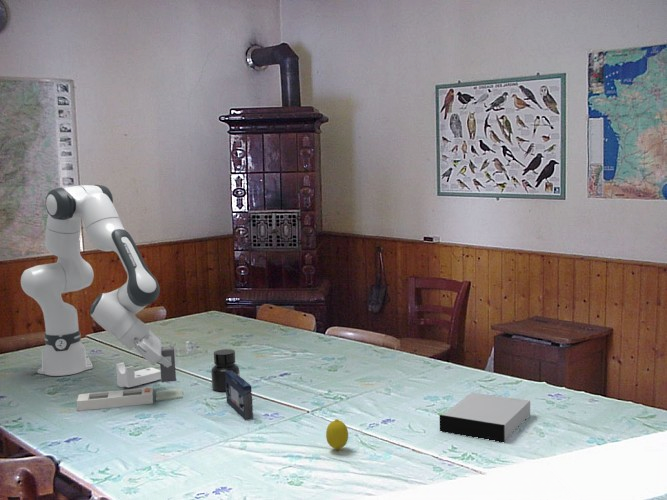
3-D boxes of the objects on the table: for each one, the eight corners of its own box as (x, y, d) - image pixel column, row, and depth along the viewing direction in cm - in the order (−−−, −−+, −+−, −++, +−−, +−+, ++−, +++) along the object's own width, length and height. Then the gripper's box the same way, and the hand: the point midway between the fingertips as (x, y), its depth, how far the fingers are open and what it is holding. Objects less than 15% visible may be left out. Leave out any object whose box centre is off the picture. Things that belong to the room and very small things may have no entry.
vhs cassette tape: (226, 402, 232) (224, 370, 231) (235, 401, 233) (234, 369, 232) (243, 421, 216) (241, 387, 214) (253, 419, 217) (252, 385, 215)
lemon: (325, 446, 195) (324, 416, 194) (347, 445, 195) (346, 415, 194) (327, 455, 189) (326, 424, 188) (349, 453, 190) (348, 422, 189)
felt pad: (156, 392, 244) (156, 391, 244) (181, 390, 245) (181, 388, 245) (156, 400, 236) (156, 398, 236) (182, 398, 238) (182, 396, 237)
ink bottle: (246, 387, 246) (244, 351, 245) (225, 394, 240) (223, 357, 238) (227, 382, 253) (225, 346, 251) (205, 388, 246) (203, 352, 245)
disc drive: (439, 433, 203) (439, 415, 202) (471, 407, 221) (471, 391, 221) (503, 444, 193) (503, 425, 193) (531, 417, 212) (531, 399, 212)
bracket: (128, 390, 248) (126, 367, 247) (117, 386, 253) (115, 364, 252) (163, 381, 257) (161, 359, 256) (151, 377, 262) (150, 355, 261)
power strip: (77, 410, 229) (76, 399, 228) (79, 403, 235) (79, 392, 235) (152, 403, 233) (152, 392, 233) (153, 396, 240) (152, 385, 240)
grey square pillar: (161, 378, 242) (159, 347, 240) (175, 377, 243) (173, 346, 241) (161, 382, 237) (159, 350, 236) (176, 380, 238) (174, 349, 237)
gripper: (141, 335, 226) (177, 364, 229) (143, 320, 246) (175, 347, 249) (126, 351, 226) (162, 379, 229) (129, 335, 246) (162, 362, 249)
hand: (169, 363), depth 239 cm, fingers closed on grey square pillar, 4 cm apart
